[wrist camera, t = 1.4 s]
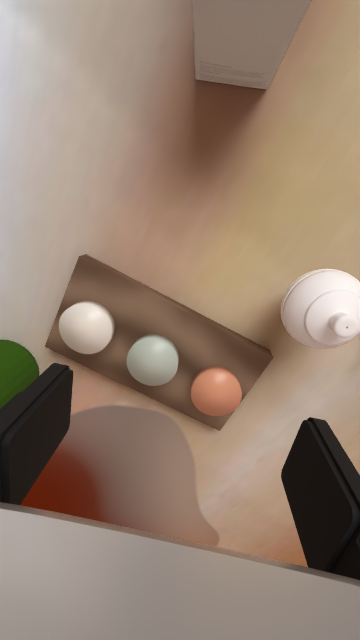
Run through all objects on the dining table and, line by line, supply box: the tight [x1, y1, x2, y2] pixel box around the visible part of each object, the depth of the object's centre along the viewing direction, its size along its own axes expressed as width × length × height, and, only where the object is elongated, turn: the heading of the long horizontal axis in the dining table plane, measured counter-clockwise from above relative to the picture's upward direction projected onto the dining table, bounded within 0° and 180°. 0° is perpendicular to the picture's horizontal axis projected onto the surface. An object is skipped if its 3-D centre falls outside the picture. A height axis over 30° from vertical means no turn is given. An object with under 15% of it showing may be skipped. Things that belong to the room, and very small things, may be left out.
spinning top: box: [280, 269, 360, 349], centre depth 28 cm, size 8×8×12 cm
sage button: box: [127, 334, 179, 386], centre depth 33 cm, size 6×6×2 cm
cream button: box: [59, 301, 115, 354], centre depth 32 cm, size 6×6×2 cm
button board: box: [45, 254, 273, 431], centre depth 36 cm, size 13×26×2 cm, turn 63°
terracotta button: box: [191, 366, 242, 416], centre depth 34 cm, size 6×6×2 cm
